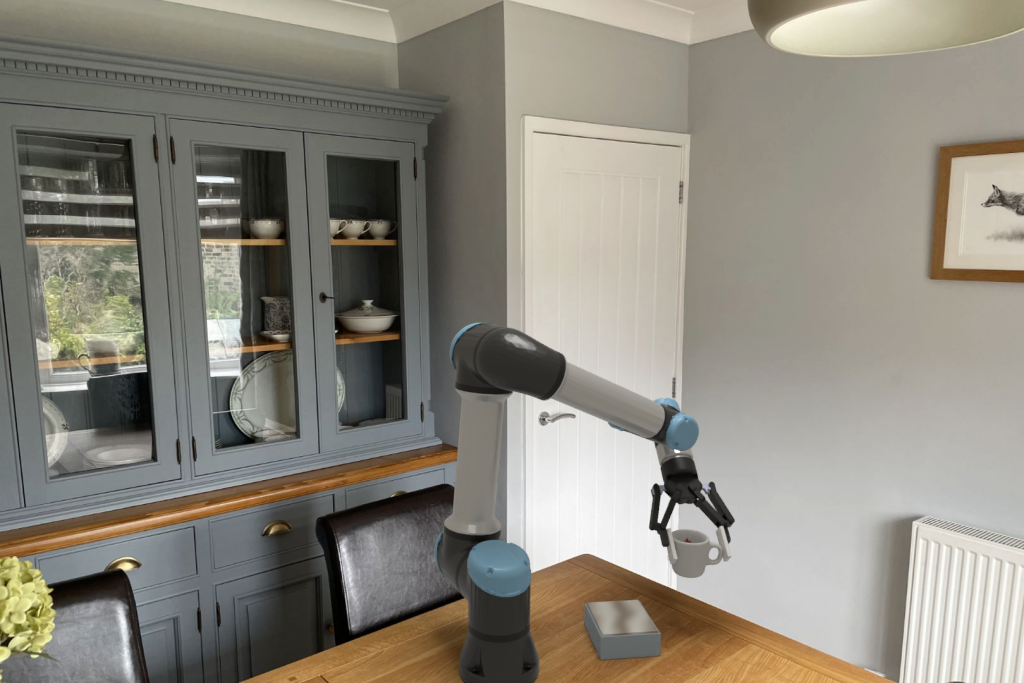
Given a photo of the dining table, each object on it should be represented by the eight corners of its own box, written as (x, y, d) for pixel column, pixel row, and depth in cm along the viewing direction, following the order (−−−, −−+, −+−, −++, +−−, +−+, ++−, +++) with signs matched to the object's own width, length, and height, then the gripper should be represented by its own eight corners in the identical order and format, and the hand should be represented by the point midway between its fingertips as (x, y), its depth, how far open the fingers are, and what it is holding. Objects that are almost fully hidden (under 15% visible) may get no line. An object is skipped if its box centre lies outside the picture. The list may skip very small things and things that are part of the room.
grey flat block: (600, 659, 145) (601, 635, 144) (584, 624, 158) (584, 601, 158) (660, 655, 146) (660, 631, 145) (638, 620, 160) (639, 598, 159)
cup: (718, 566, 157) (720, 530, 156) (725, 583, 149) (727, 545, 148) (666, 564, 158) (667, 528, 157) (670, 580, 150) (672, 542, 149)
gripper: (721, 469, 168) (748, 564, 155) (622, 473, 165) (641, 569, 152) (732, 453, 162) (761, 550, 149) (629, 456, 159) (650, 555, 146)
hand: (701, 560), depth 150 cm, fingers closed on cup, 11 cm apart
